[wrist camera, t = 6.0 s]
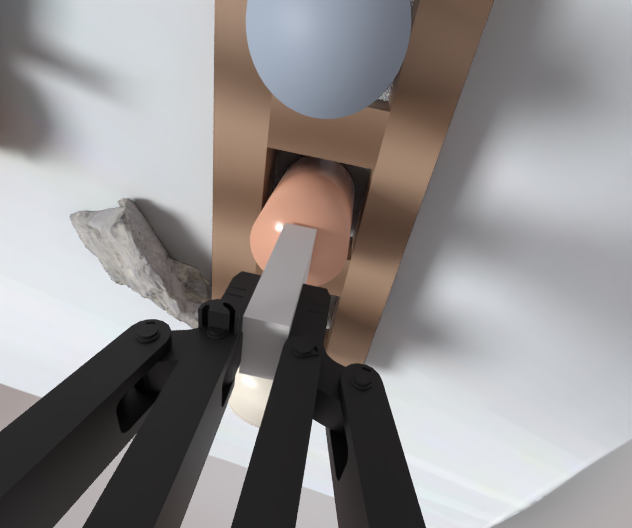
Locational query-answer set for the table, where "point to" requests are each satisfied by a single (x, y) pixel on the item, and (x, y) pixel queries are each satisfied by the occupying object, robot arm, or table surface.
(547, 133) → the table surface
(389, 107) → the wooden compartment tray
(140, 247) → the stone
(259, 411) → the white rounded cylinder
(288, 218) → the cap terracotta
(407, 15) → the cap slate
